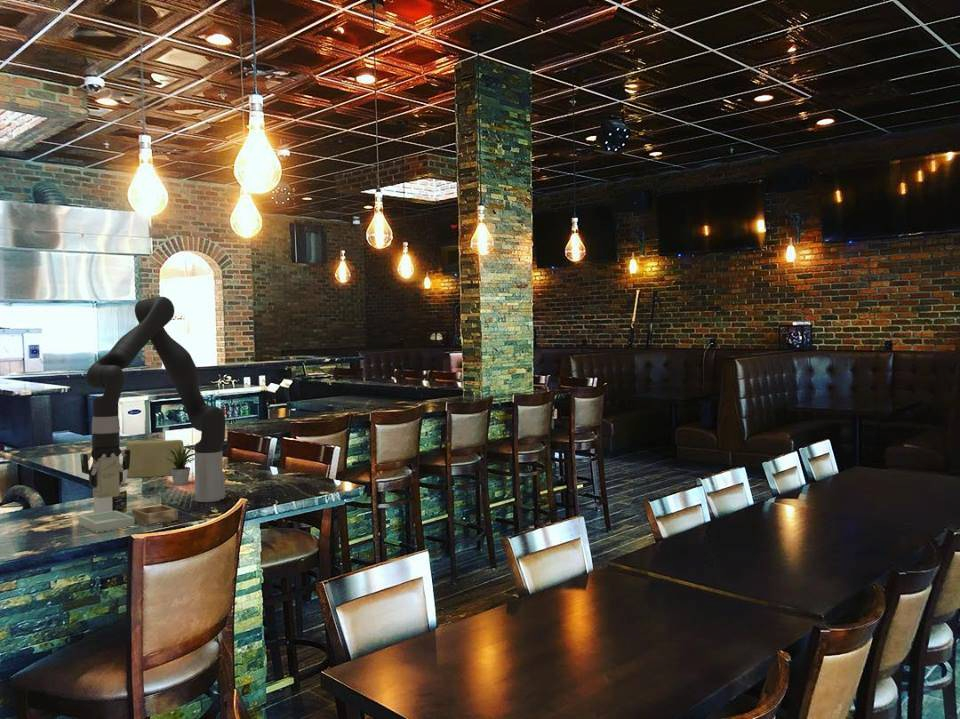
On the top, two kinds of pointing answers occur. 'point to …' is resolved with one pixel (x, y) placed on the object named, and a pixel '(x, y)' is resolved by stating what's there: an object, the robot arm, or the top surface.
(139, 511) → the wooden square box
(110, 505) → the medicine bottle
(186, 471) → the house plant
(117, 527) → the tray
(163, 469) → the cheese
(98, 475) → the skincare box
